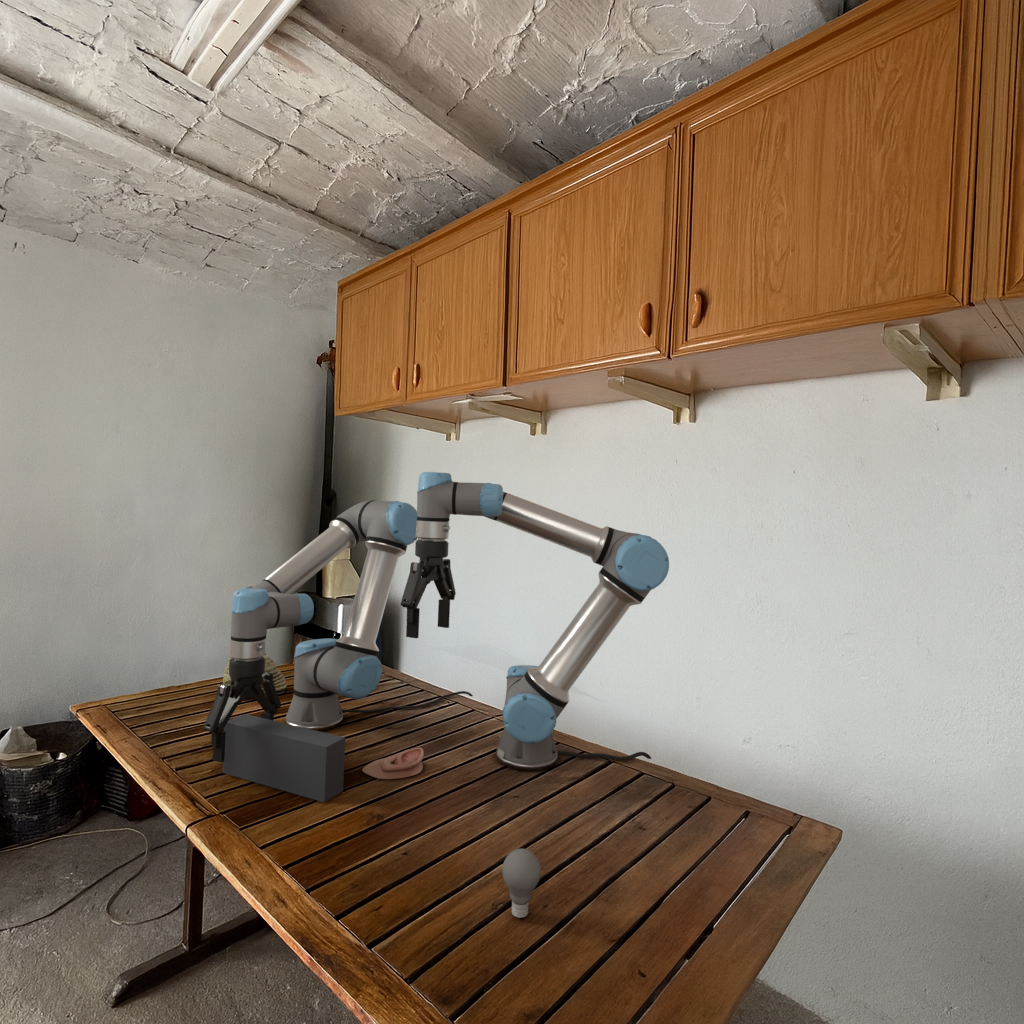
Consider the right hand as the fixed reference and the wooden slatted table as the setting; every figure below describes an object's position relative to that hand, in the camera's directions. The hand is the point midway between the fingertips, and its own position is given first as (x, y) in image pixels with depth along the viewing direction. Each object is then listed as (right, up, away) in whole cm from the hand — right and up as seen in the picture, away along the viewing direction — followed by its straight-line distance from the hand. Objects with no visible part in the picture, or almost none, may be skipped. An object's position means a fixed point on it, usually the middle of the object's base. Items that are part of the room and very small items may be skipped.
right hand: (428, 632), depth 145 cm
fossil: (-61, -30, +53) cm, 86 cm away
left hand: (-42, -27, -1) cm, 50 cm away
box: (-32, -32, -5) cm, 45 cm away
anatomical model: (-9, -33, +3) cm, 34 cm away
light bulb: (+20, -35, -47) cm, 62 cm away
